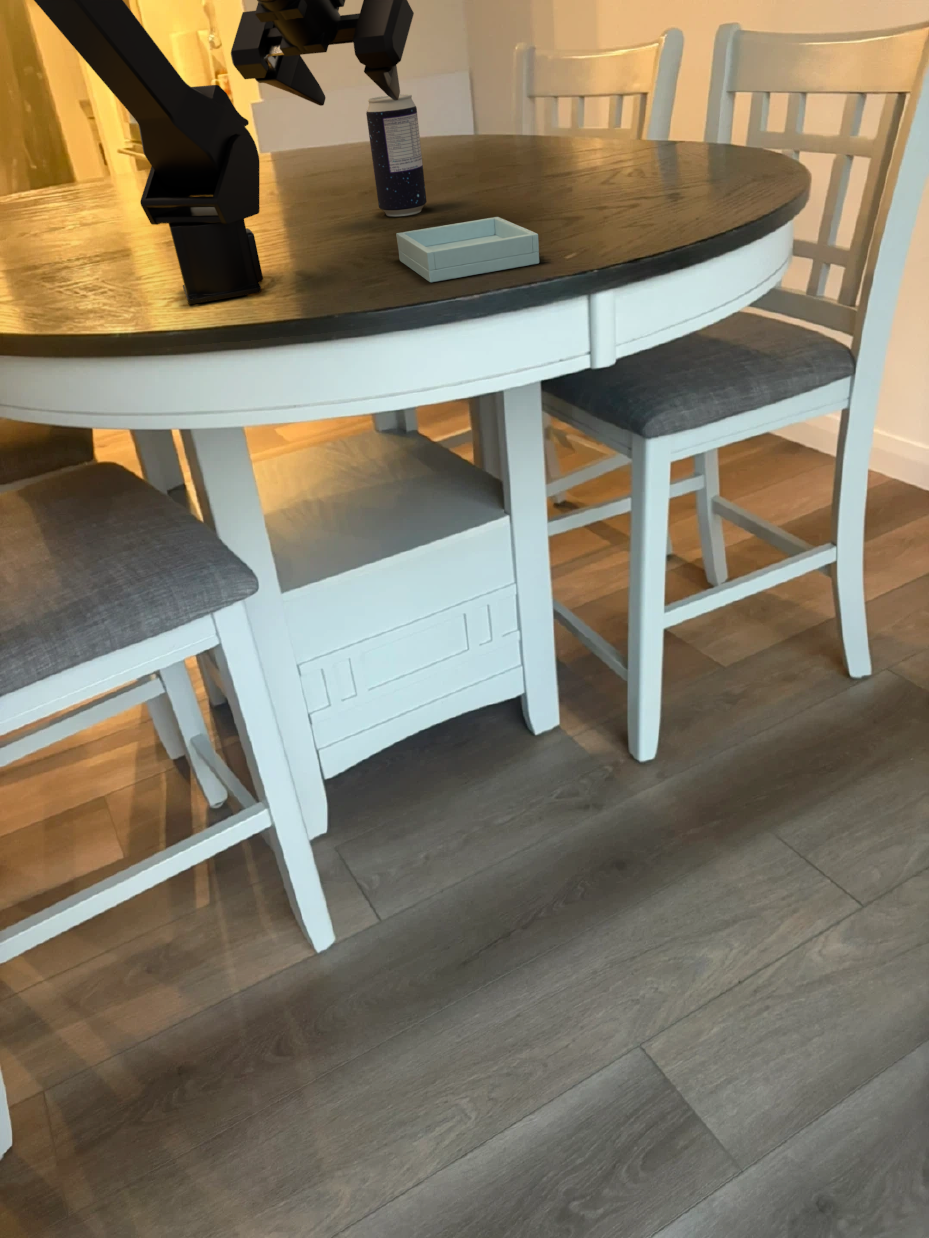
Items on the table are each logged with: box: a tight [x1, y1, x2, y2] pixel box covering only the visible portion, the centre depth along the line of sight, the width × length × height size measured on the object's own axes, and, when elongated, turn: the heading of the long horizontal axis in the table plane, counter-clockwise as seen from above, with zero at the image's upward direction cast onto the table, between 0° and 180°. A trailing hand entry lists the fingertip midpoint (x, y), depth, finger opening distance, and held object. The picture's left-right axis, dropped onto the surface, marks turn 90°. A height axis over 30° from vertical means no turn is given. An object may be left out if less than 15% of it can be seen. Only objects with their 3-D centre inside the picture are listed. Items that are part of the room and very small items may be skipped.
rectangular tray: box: [395, 216, 540, 284], centre depth 83 cm, size 10×10×2 cm
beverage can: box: [365, 93, 427, 218], centre depth 104 cm, size 6×6×12 cm
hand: (359, 99), depth 96 cm, fingers open, 9 cm apart
